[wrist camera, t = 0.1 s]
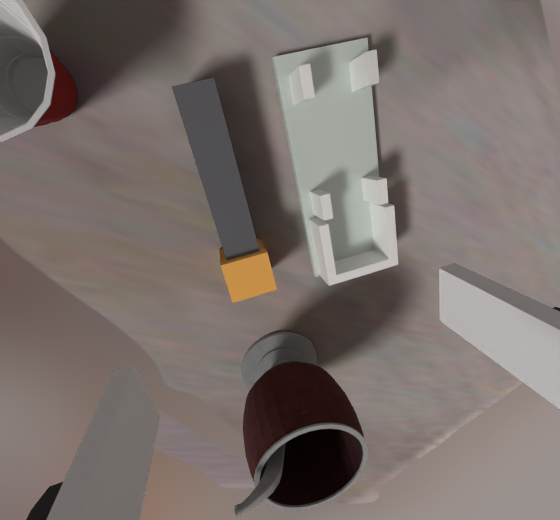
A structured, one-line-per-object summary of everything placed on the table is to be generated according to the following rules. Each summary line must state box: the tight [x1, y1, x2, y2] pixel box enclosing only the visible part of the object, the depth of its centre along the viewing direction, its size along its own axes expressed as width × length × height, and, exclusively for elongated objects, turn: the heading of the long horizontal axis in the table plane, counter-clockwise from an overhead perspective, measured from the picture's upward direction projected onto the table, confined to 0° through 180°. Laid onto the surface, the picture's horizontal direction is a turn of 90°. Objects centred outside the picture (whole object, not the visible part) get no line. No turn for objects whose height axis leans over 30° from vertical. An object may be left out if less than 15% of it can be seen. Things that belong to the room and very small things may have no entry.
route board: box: [272, 38, 398, 286], centre depth 36 cm, size 27×11×5 cm, turn 13°
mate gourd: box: [234, 331, 369, 517], centre depth 38 cm, size 16×14×20 cm
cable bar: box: [172, 78, 277, 303], centre depth 34 cm, size 23×6×6 cm, turn 13°
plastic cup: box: [0, 0, 77, 142], centre depth 24 cm, size 11×11×12 cm
